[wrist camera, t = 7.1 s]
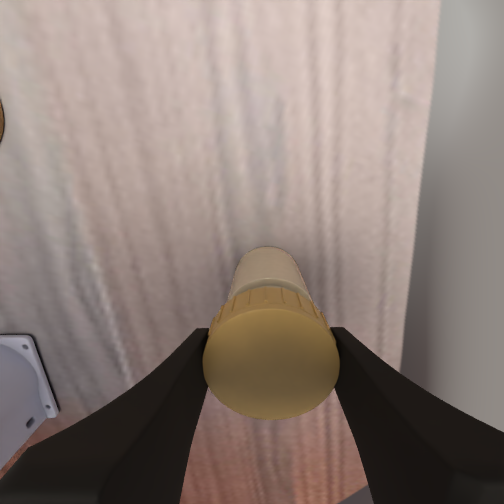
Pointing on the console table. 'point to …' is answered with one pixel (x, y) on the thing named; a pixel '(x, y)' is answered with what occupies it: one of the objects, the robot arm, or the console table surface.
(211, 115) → the console table surface
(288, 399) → the lid
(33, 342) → the robot arm
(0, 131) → the coaster
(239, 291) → the jar
